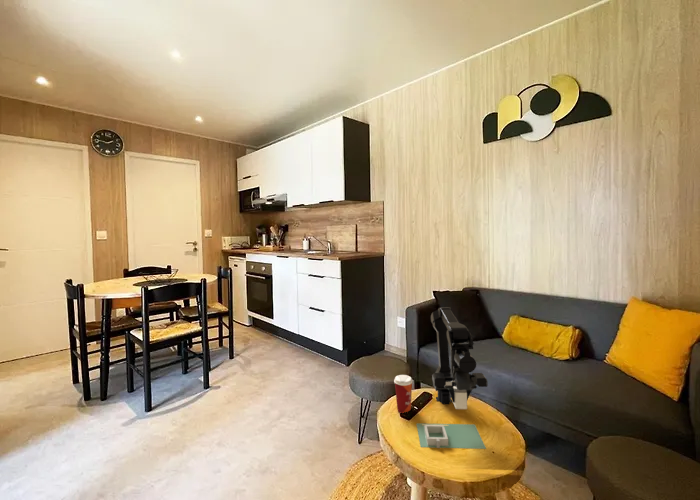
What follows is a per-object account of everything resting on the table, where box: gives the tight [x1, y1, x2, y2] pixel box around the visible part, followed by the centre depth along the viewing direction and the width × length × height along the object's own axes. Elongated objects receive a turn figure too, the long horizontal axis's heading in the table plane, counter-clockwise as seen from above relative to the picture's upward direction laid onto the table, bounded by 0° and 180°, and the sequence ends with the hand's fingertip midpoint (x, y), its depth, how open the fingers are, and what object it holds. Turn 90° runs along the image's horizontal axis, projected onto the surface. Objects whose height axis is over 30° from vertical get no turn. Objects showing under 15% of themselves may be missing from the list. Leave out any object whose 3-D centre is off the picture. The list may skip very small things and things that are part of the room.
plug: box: [452, 386, 468, 410], centre depth 122 cm, size 5×4×7 cm
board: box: [416, 422, 487, 450], centre depth 121 cm, size 14×22×4 cm, turn 85°
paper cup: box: [393, 374, 413, 414], centre depth 140 cm, size 8×8×14 cm
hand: (459, 402), depth 122 cm, fingers closed on plug, 4 cm apart
